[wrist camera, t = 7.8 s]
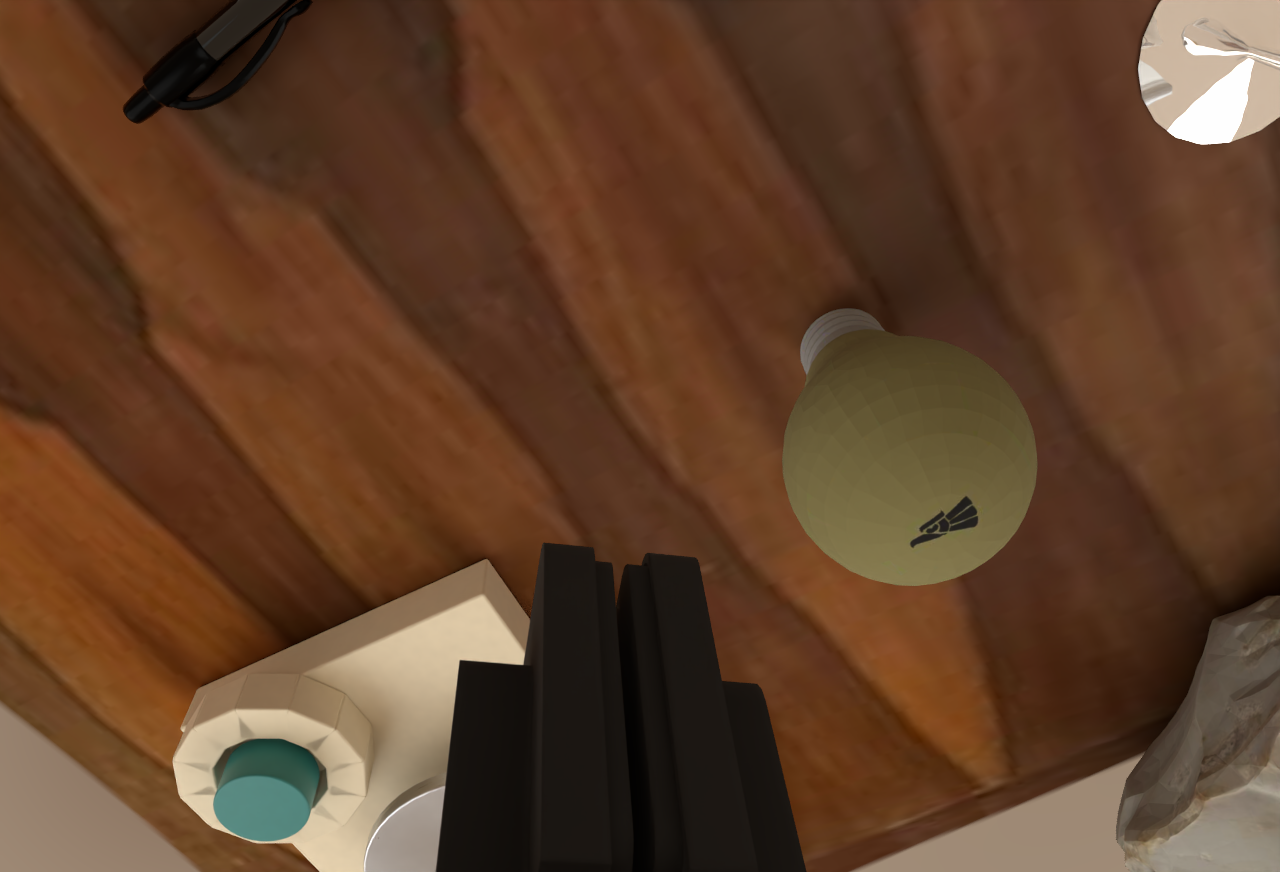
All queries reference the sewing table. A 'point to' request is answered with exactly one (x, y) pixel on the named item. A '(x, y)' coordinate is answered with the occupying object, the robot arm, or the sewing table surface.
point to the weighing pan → (408, 830)
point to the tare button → (267, 790)
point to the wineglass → (1212, 68)
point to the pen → (211, 57)
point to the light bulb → (904, 453)
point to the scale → (356, 707)
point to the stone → (1214, 760)
